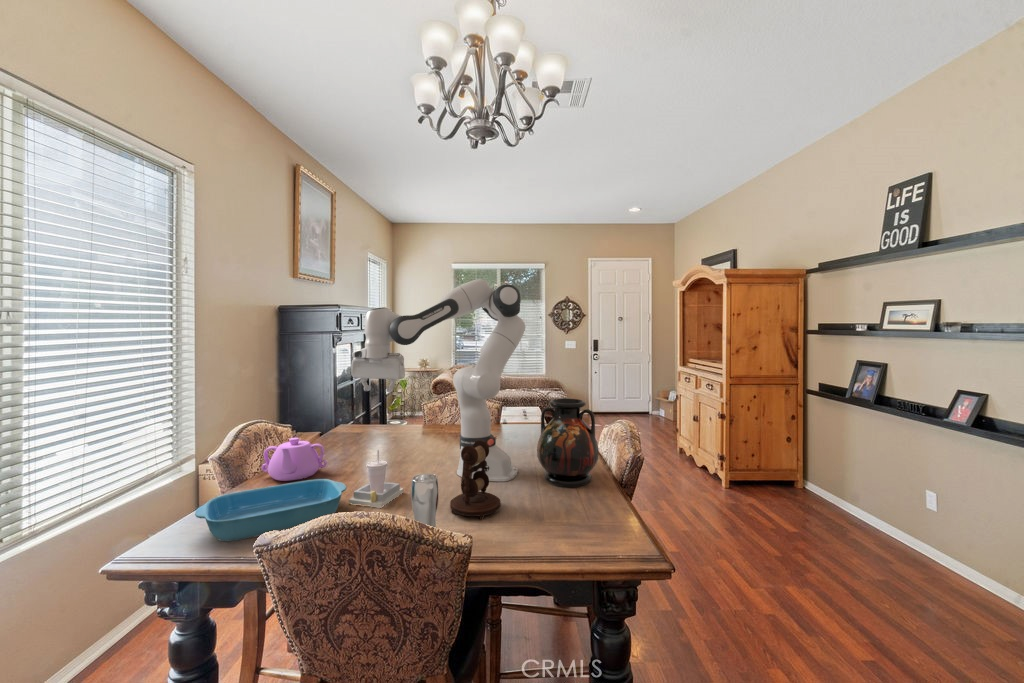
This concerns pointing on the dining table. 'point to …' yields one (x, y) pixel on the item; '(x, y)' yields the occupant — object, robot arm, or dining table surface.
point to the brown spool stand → (475, 484)
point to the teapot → (293, 460)
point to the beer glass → (425, 498)
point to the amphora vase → (567, 444)
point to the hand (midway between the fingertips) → (378, 391)
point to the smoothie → (377, 474)
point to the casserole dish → (269, 508)
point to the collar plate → (376, 495)
